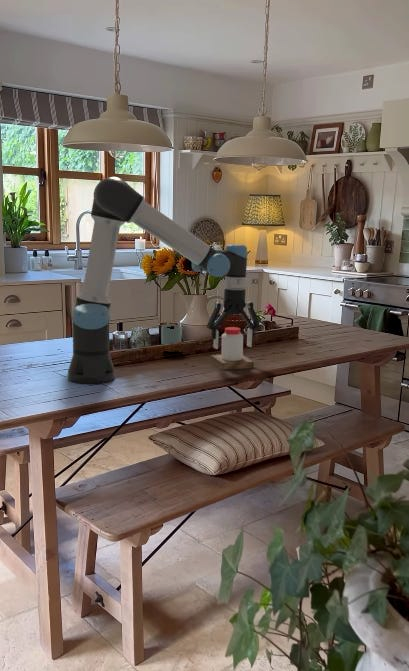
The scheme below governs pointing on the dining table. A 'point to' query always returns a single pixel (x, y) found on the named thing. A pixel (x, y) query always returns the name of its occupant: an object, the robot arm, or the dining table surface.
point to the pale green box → (170, 334)
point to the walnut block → (232, 363)
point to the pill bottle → (232, 344)
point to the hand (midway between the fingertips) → (232, 347)
